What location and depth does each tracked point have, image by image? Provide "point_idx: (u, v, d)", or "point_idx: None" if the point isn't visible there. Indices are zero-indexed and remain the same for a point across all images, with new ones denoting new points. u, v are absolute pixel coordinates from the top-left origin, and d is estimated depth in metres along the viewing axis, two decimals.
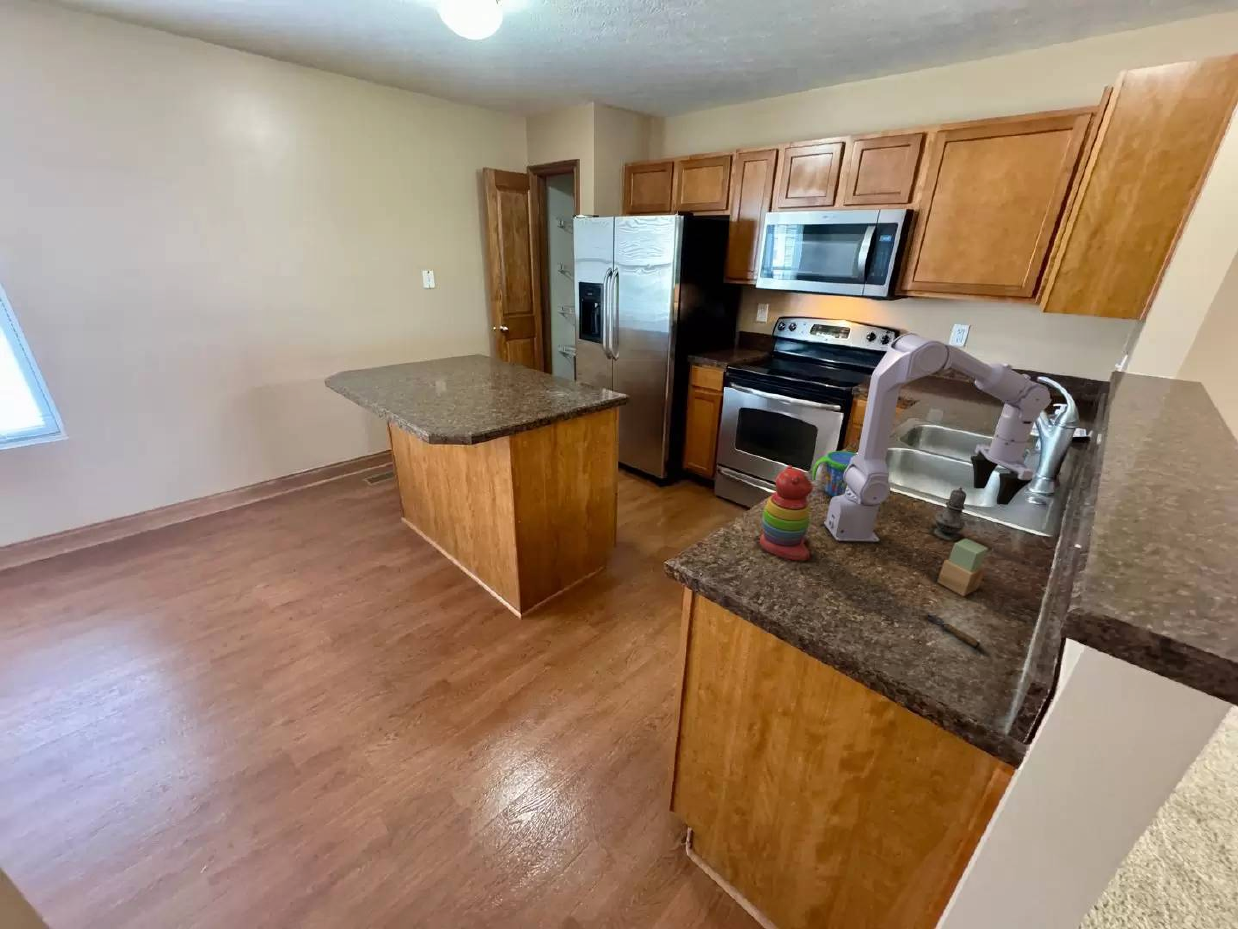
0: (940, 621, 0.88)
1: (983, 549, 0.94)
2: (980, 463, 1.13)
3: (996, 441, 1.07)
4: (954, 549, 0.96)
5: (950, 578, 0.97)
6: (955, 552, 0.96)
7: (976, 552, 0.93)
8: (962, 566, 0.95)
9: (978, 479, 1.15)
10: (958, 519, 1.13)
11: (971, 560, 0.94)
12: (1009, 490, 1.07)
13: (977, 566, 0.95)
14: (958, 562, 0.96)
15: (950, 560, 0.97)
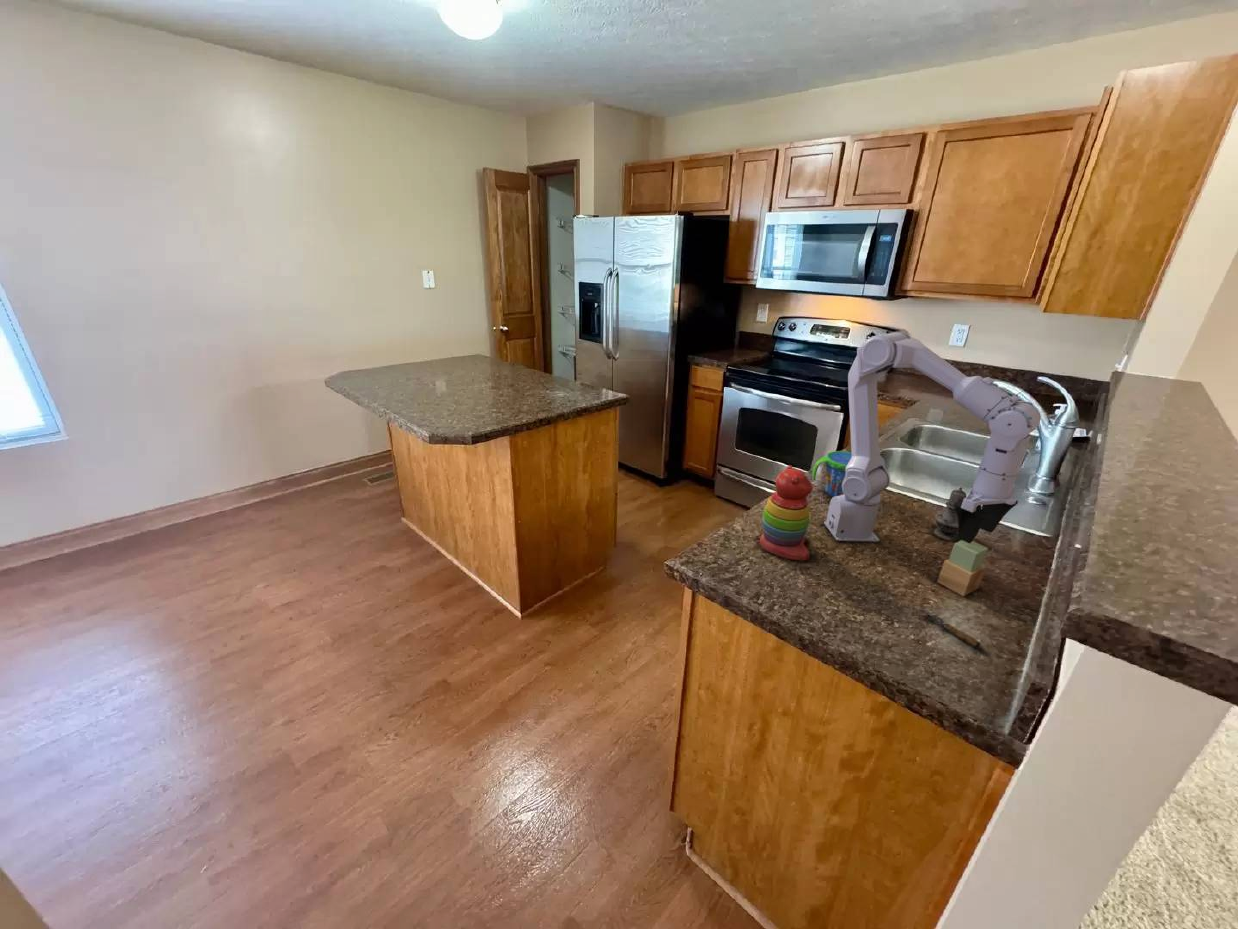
0: (940, 621, 0.88)
1: (983, 549, 0.94)
2: None
3: None
4: (954, 549, 0.96)
5: (950, 578, 0.97)
6: (955, 552, 0.96)
7: (976, 552, 0.93)
8: (962, 566, 0.95)
9: None
10: None
11: (971, 560, 0.94)
12: (969, 525, 0.93)
13: (977, 566, 0.95)
14: (958, 562, 0.96)
15: (950, 560, 0.97)
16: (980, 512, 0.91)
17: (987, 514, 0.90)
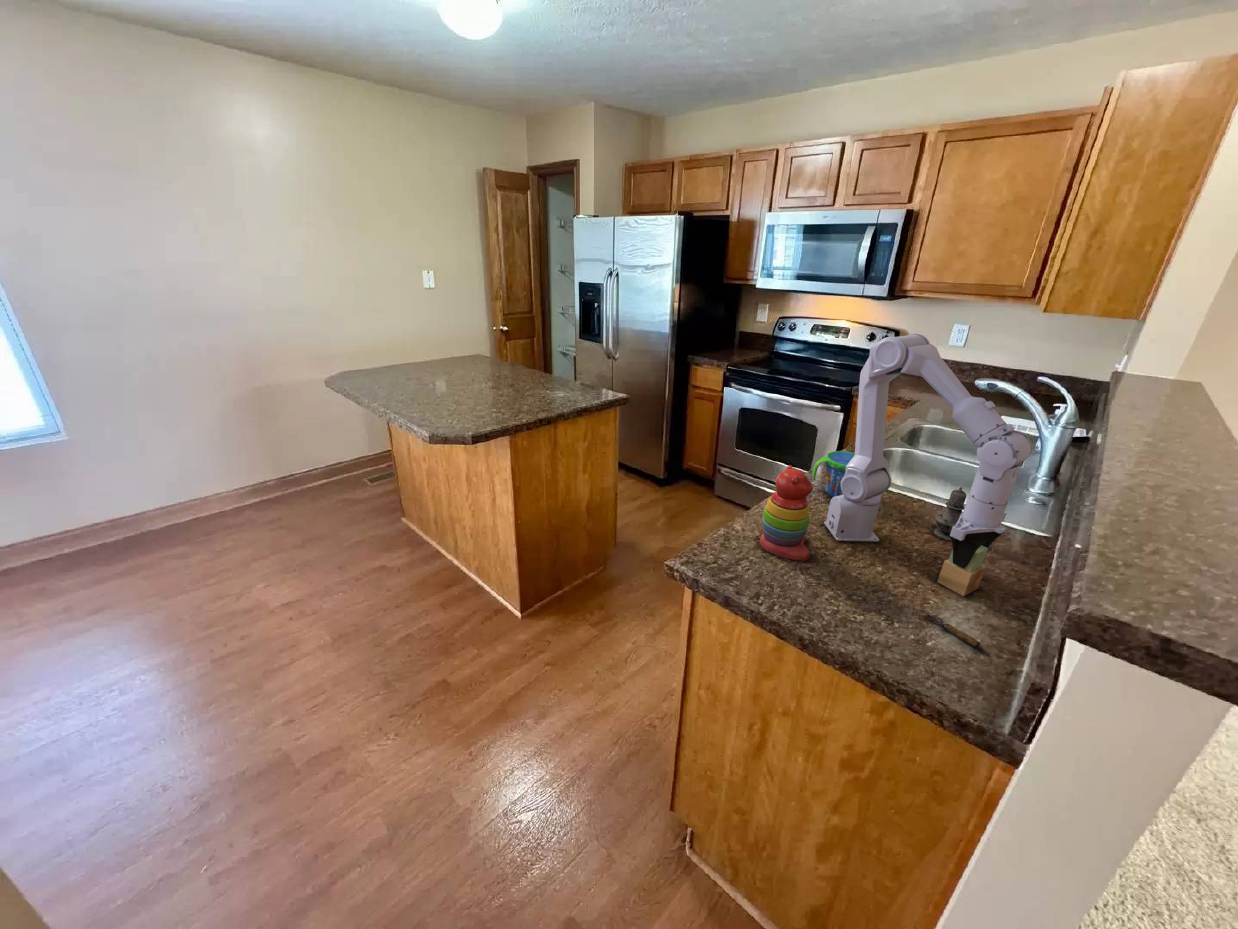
0: (940, 621, 0.88)
1: (983, 549, 0.94)
2: None
3: None
4: None
5: (950, 578, 0.97)
6: None
7: (976, 552, 0.93)
8: None
9: None
10: (958, 519, 1.13)
11: (971, 560, 0.94)
12: (963, 550, 0.94)
13: (977, 566, 0.95)
14: None
15: (950, 560, 0.97)
16: (974, 538, 0.91)
17: (981, 540, 0.91)
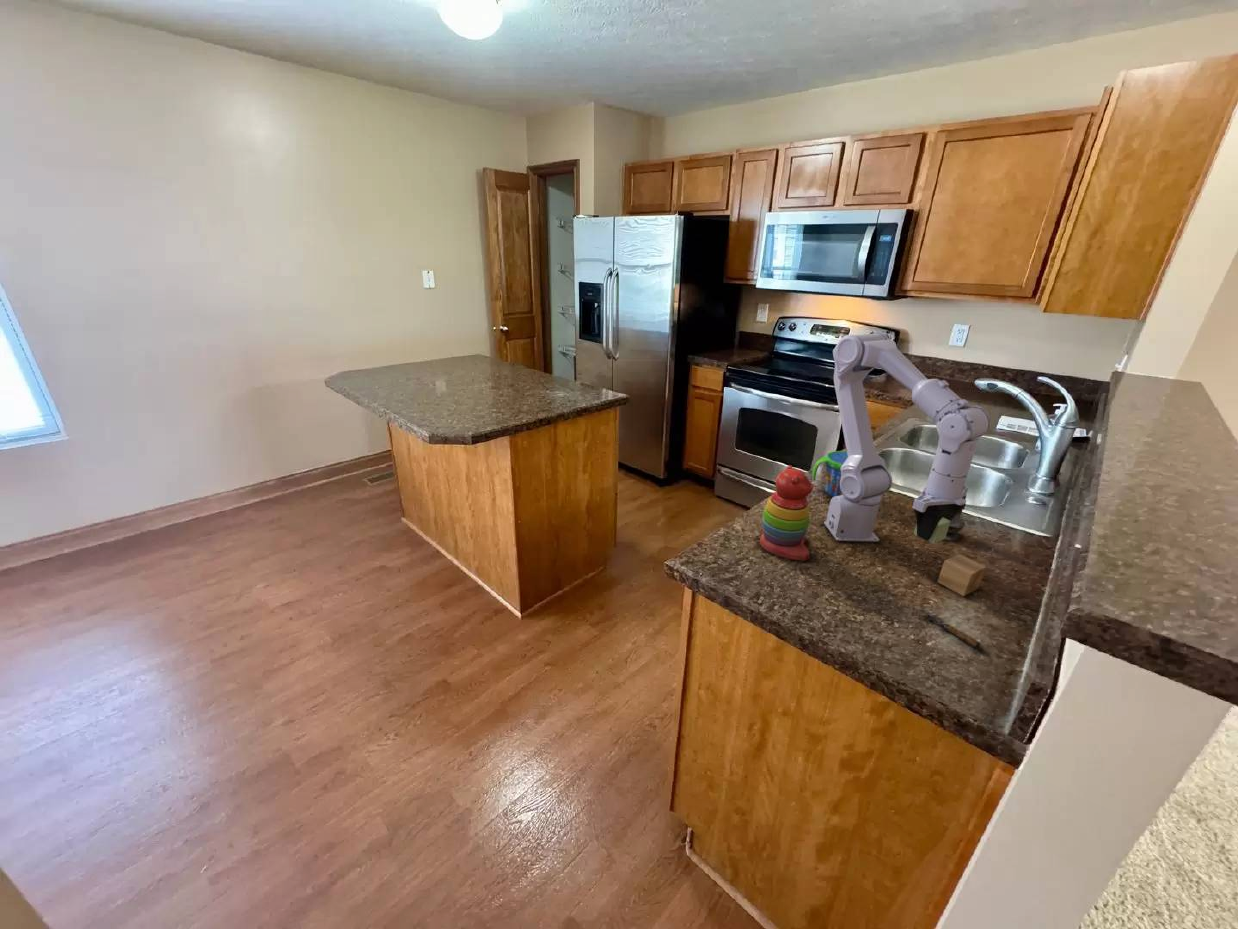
0: (940, 621, 0.88)
1: (946, 522, 0.97)
2: None
3: None
4: None
5: (950, 578, 0.97)
6: None
7: (938, 524, 0.96)
8: None
9: None
10: (958, 519, 1.13)
11: (934, 532, 0.97)
12: (926, 523, 0.97)
13: (940, 538, 0.98)
14: None
15: (915, 533, 1.00)
16: (935, 510, 0.94)
17: (942, 512, 0.94)
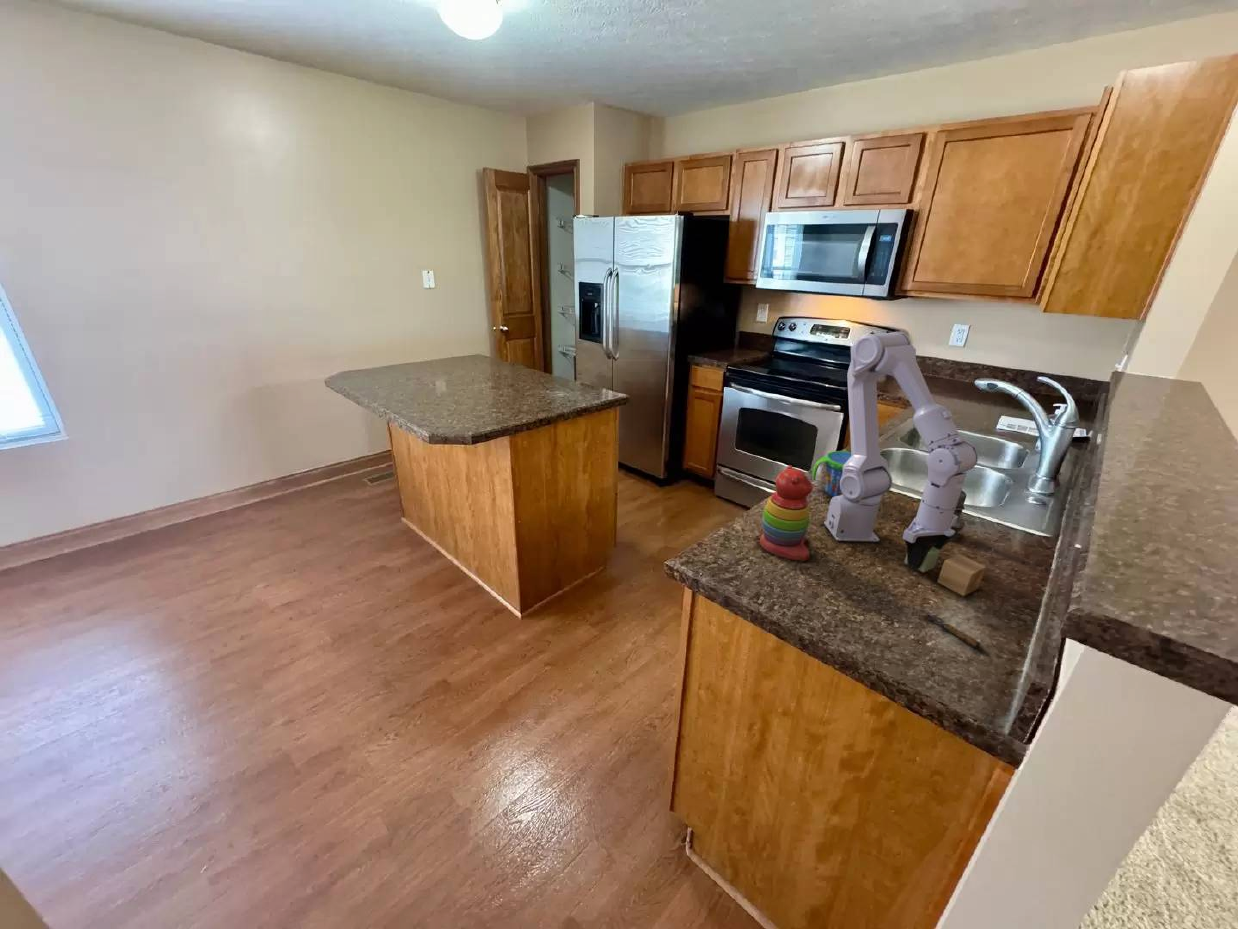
0: (940, 621, 0.88)
1: (935, 551, 1.00)
2: None
3: None
4: None
5: (950, 578, 0.97)
6: None
7: (928, 554, 0.99)
8: None
9: None
10: (958, 519, 1.13)
11: (924, 561, 1.00)
12: (916, 552, 1.00)
13: (930, 567, 1.01)
14: None
15: (905, 561, 1.03)
16: (925, 541, 0.97)
17: (931, 543, 0.97)
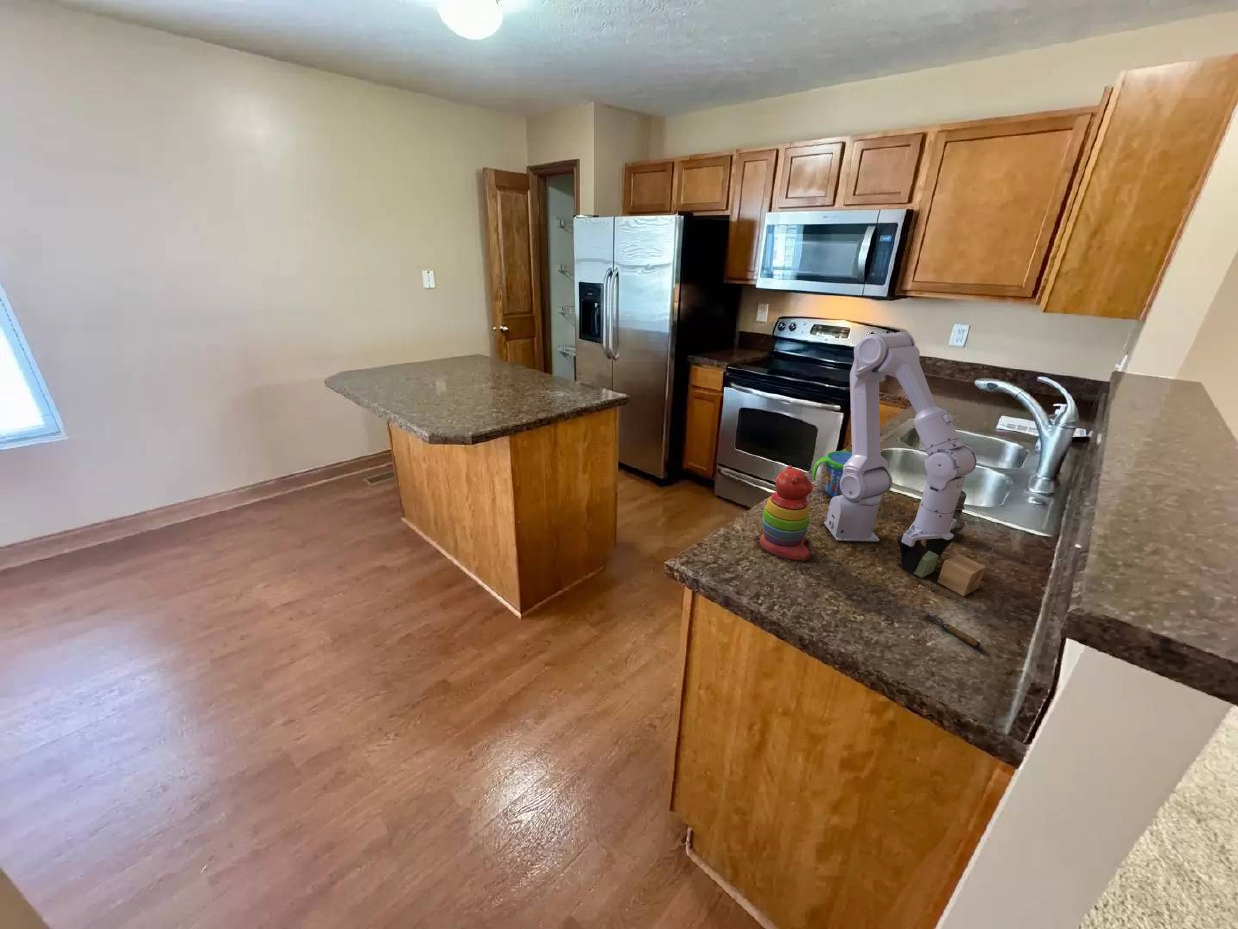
0: (940, 621, 0.88)
1: (934, 556, 1.00)
2: None
3: None
4: None
5: (950, 578, 0.97)
6: None
7: (927, 559, 1.00)
8: (915, 572, 1.02)
9: None
10: (958, 519, 1.13)
11: (922, 567, 1.00)
12: (910, 557, 0.99)
13: (928, 572, 1.01)
14: None
15: None
16: (919, 546, 0.97)
17: (925, 548, 0.96)
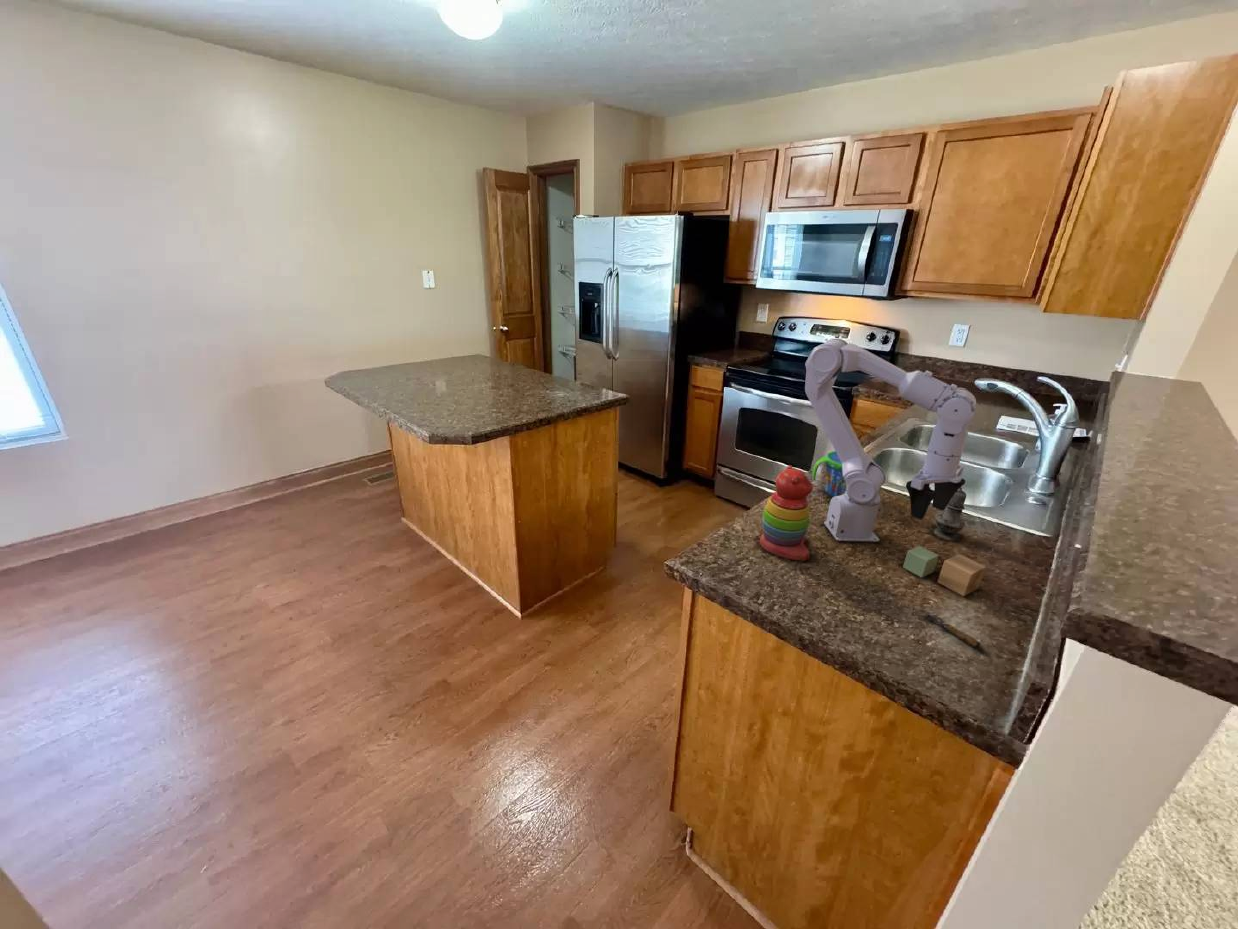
0: (940, 621, 0.88)
1: (934, 556, 1.00)
2: None
3: None
4: (908, 556, 1.02)
5: (950, 578, 0.97)
6: (908, 559, 1.02)
7: (927, 559, 1.00)
8: (915, 572, 1.02)
9: (936, 497, 1.07)
10: (958, 519, 1.13)
11: (922, 567, 1.00)
12: (919, 502, 1.02)
13: (928, 572, 1.01)
14: (911, 568, 1.02)
15: (904, 566, 1.03)
16: (928, 490, 1.00)
17: (934, 492, 0.99)
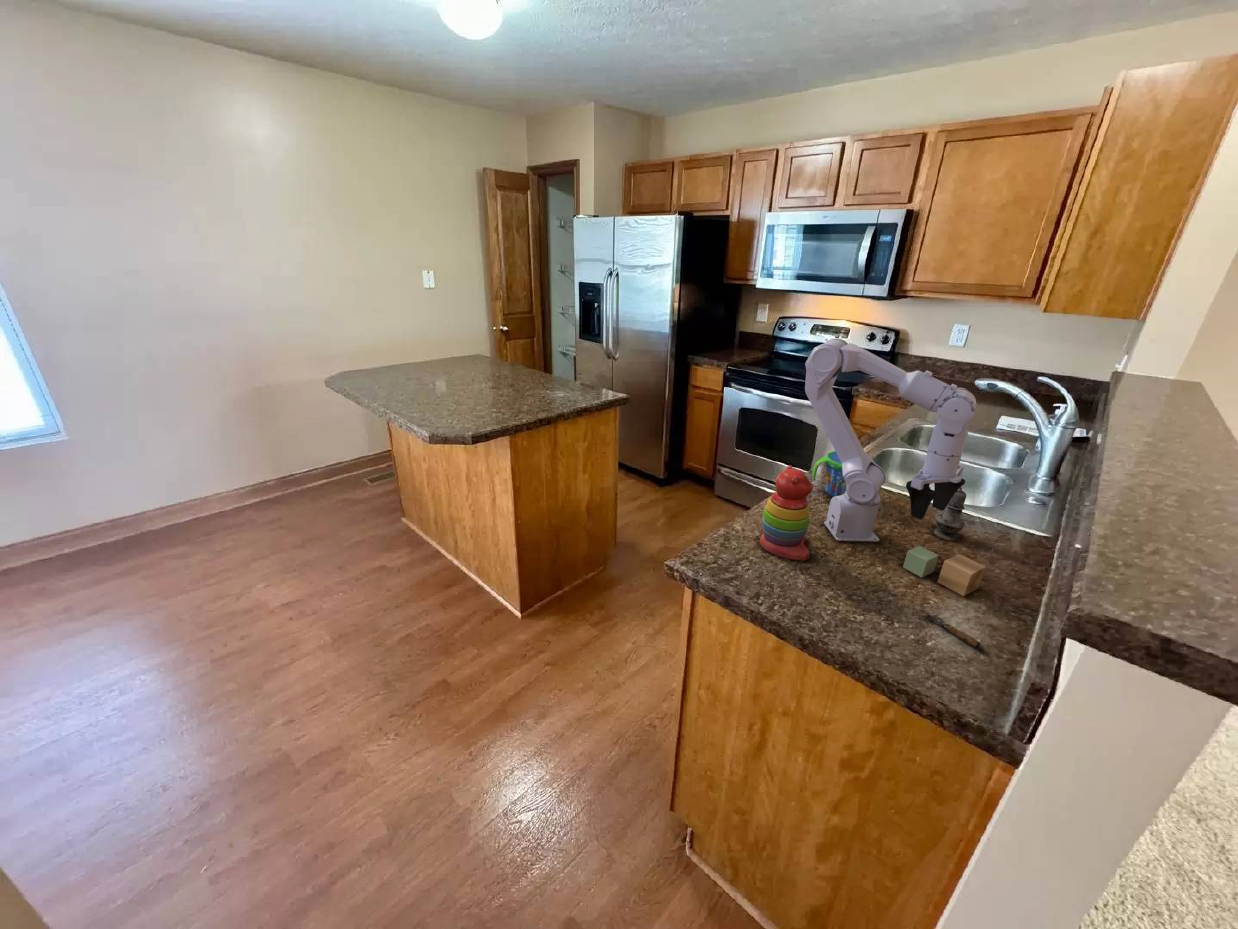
0: (940, 621, 0.88)
1: (934, 556, 1.00)
2: None
3: None
4: (908, 556, 1.02)
5: (950, 577, 0.97)
6: (908, 559, 1.02)
7: (927, 559, 1.00)
8: (915, 572, 1.02)
9: (936, 497, 1.07)
10: (958, 519, 1.13)
11: (922, 567, 1.00)
12: (919, 502, 1.02)
13: (928, 572, 1.01)
14: (911, 568, 1.02)
15: (904, 566, 1.03)
16: (928, 490, 1.00)
17: (934, 492, 0.99)
